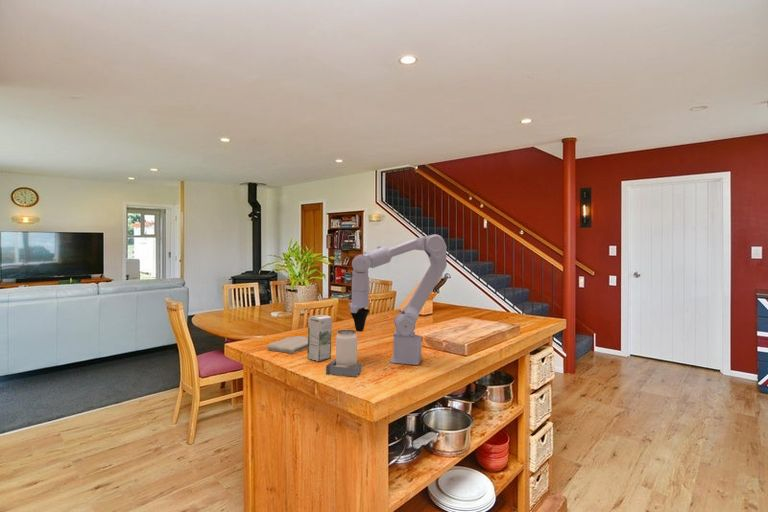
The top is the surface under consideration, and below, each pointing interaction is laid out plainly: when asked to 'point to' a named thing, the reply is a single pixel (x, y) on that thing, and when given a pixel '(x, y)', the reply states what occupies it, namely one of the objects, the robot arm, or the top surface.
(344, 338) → the can
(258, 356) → the top surface
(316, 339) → the syrup box
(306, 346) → the washcloth
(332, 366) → the metal bracket
